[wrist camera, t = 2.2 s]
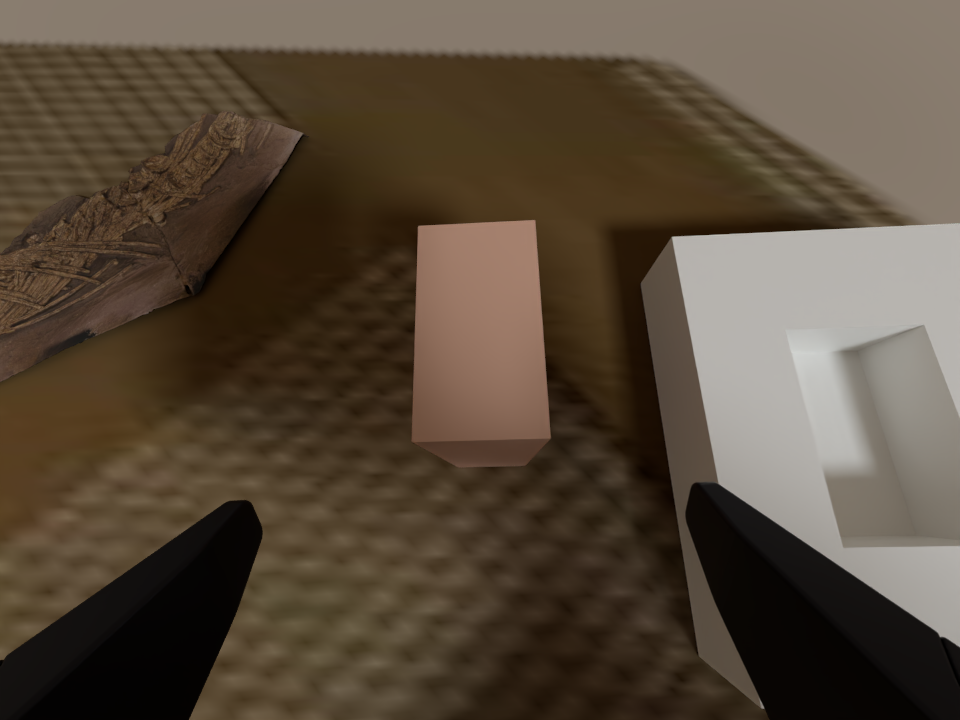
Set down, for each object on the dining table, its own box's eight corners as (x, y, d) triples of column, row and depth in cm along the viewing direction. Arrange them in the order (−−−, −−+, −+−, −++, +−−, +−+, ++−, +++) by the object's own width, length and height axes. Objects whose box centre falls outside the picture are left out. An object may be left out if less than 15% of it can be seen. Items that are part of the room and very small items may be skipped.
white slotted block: (1028, 655, 15) (1202, 708, 11) (698, 656, 16) (761, 708, 12) (888, 273, 20) (978, 222, 16) (640, 283, 21) (671, 236, 17)
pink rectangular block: (525, 465, 18) (550, 438, 9) (458, 467, 18) (411, 442, 9) (519, 349, 20) (535, 220, 10) (457, 351, 20) (418, 225, 11)
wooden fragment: (260, 88, 27) (251, 72, 26) (357, 191, 24) (351, 177, 23) (-135, 336, 23) (-165, 328, 22) (-75, 496, 20) (-107, 496, 19)
